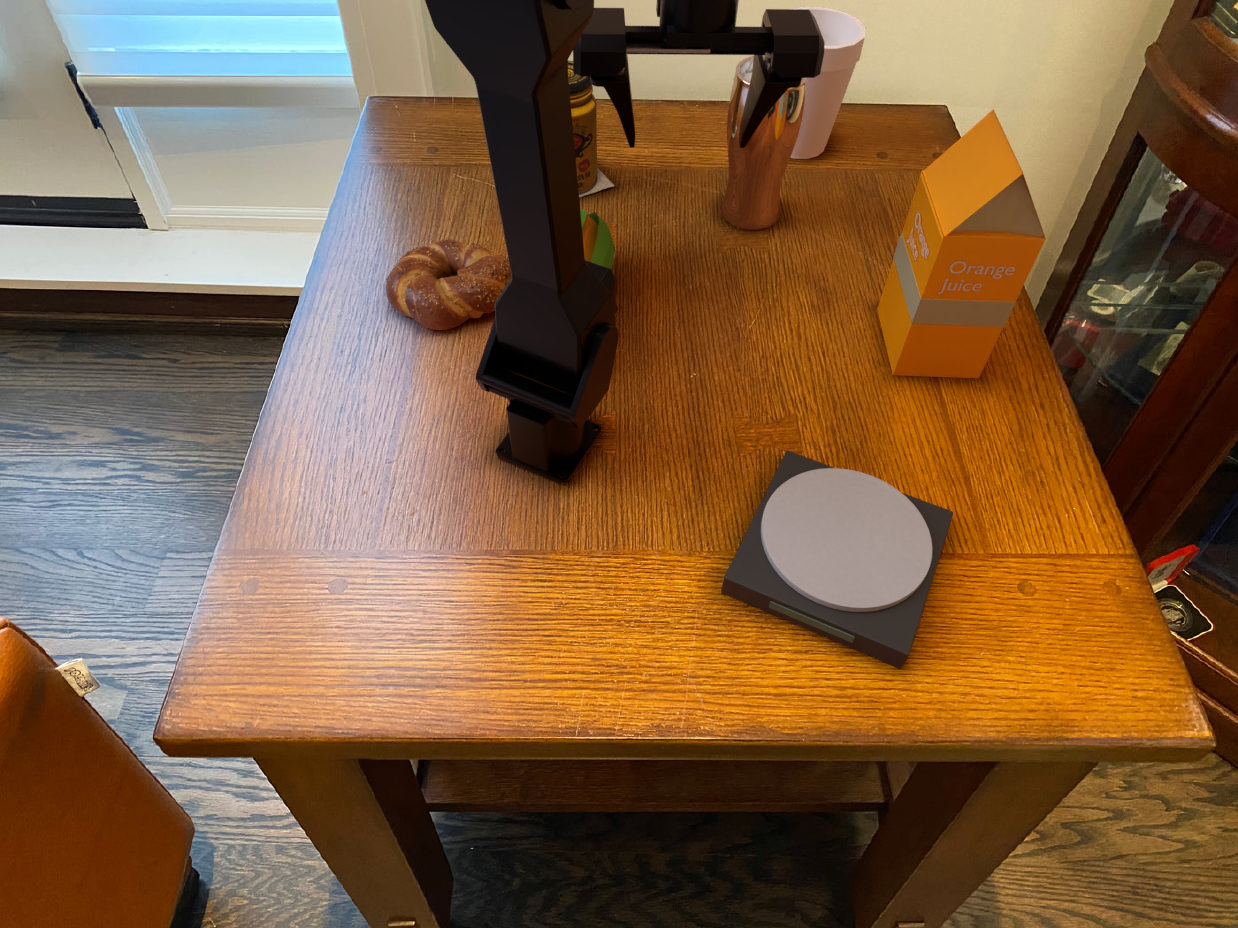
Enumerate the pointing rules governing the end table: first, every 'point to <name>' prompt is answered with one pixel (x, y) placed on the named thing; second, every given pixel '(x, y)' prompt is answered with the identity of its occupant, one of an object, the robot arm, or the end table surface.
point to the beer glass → (759, 154)
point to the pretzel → (447, 283)
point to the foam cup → (828, 78)
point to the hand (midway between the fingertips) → (686, 145)
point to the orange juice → (960, 258)
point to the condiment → (585, 134)
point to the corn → (597, 240)
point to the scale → (841, 556)
